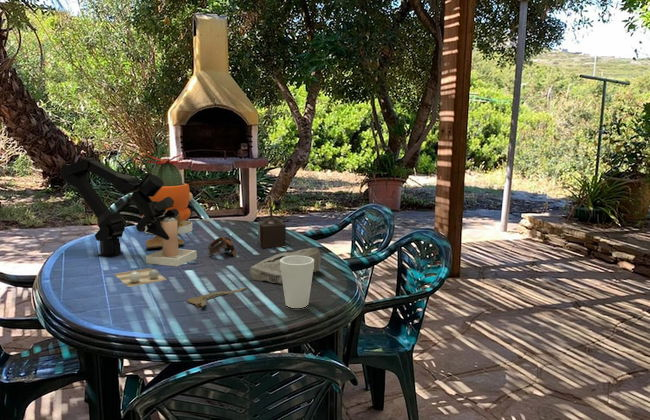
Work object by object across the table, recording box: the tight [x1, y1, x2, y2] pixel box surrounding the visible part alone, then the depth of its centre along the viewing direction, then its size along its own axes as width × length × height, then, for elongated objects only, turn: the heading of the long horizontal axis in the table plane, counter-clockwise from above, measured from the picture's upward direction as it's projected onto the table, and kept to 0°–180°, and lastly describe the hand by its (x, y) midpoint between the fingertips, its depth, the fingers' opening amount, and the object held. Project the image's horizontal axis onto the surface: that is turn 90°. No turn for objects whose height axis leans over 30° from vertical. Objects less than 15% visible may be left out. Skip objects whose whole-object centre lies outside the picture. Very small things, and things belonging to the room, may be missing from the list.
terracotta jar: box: [161, 218, 179, 257], centre depth 179 cm, size 5×5×14 cm
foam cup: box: [280, 256, 314, 309], centre depth 138 cm, size 10×9×13 cm
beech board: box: [113, 267, 168, 288], centre depth 161 cm, size 16×12×1 cm
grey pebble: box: [149, 269, 160, 279], centre depth 159 cm, size 3×3×3 cm
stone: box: [249, 247, 322, 285], centre depth 166 cm, size 18×10×20 cm
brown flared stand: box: [145, 211, 185, 249], centre depth 201 cm, size 15×12×15 cm
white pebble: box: [129, 270, 141, 282], centre depth 156 cm, size 3×3×3 cm
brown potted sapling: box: [257, 198, 287, 249], centre depth 207 cm, size 16×11×18 cm
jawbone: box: [186, 287, 248, 309], centre depth 145 cm, size 9×20×2 cm, turn 153°
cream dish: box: [145, 248, 198, 267], centre depth 181 cm, size 13×13×3 cm
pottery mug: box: [207, 236, 237, 258], centre depth 190 cm, size 12×10×8 cm
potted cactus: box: [141, 154, 193, 235], centre depth 225 cm, size 22×22×35 cm
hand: (173, 237), depth 179 cm, fingers closed on terracotta jar, 5 cm apart
